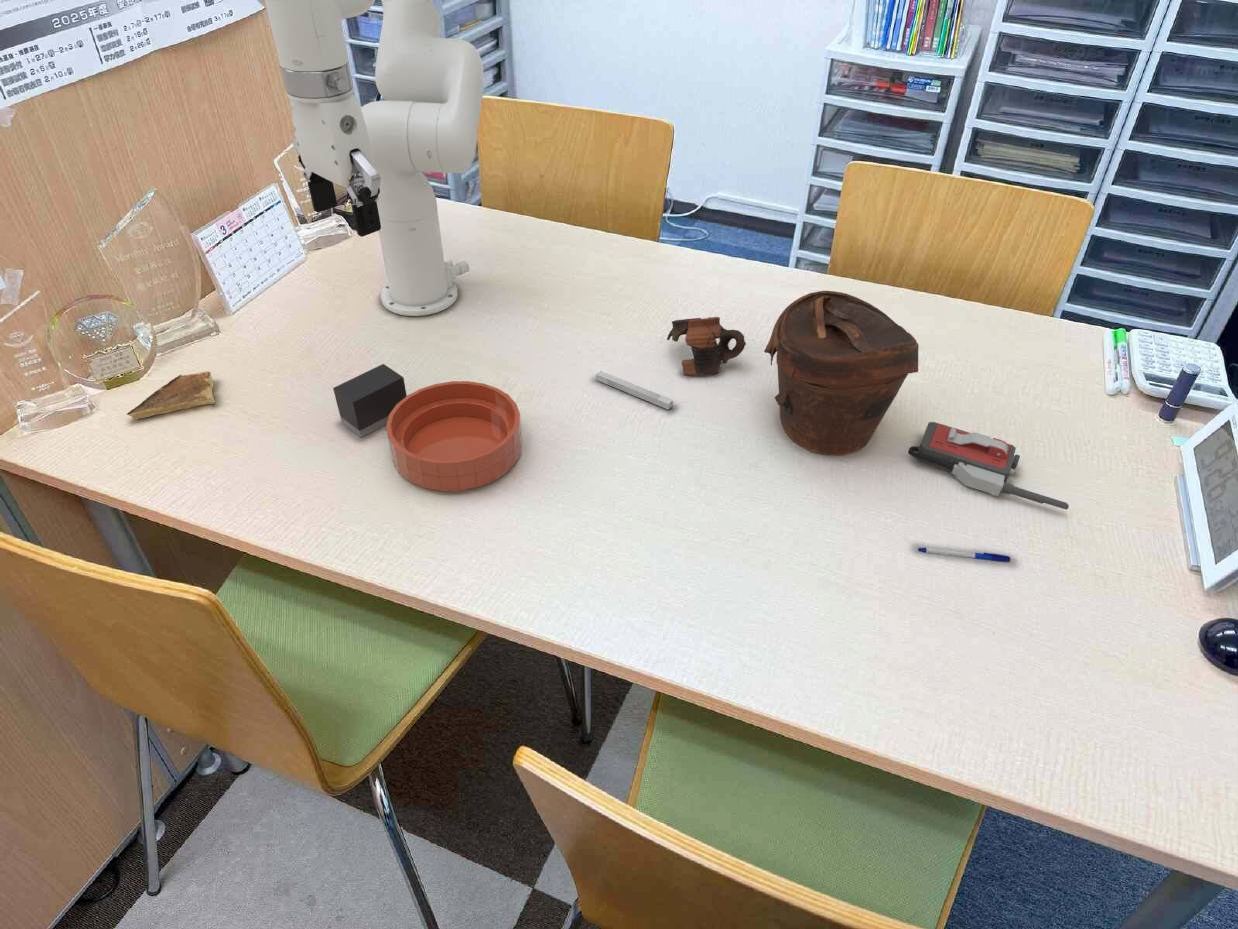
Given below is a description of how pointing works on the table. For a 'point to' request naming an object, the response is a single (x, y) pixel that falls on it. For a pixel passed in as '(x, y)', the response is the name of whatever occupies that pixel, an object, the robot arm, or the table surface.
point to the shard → (177, 395)
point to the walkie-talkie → (974, 461)
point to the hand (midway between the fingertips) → (347, 220)
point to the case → (837, 369)
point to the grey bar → (635, 390)
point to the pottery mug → (706, 344)
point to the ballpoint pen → (967, 554)
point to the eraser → (369, 399)
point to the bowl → (454, 435)
